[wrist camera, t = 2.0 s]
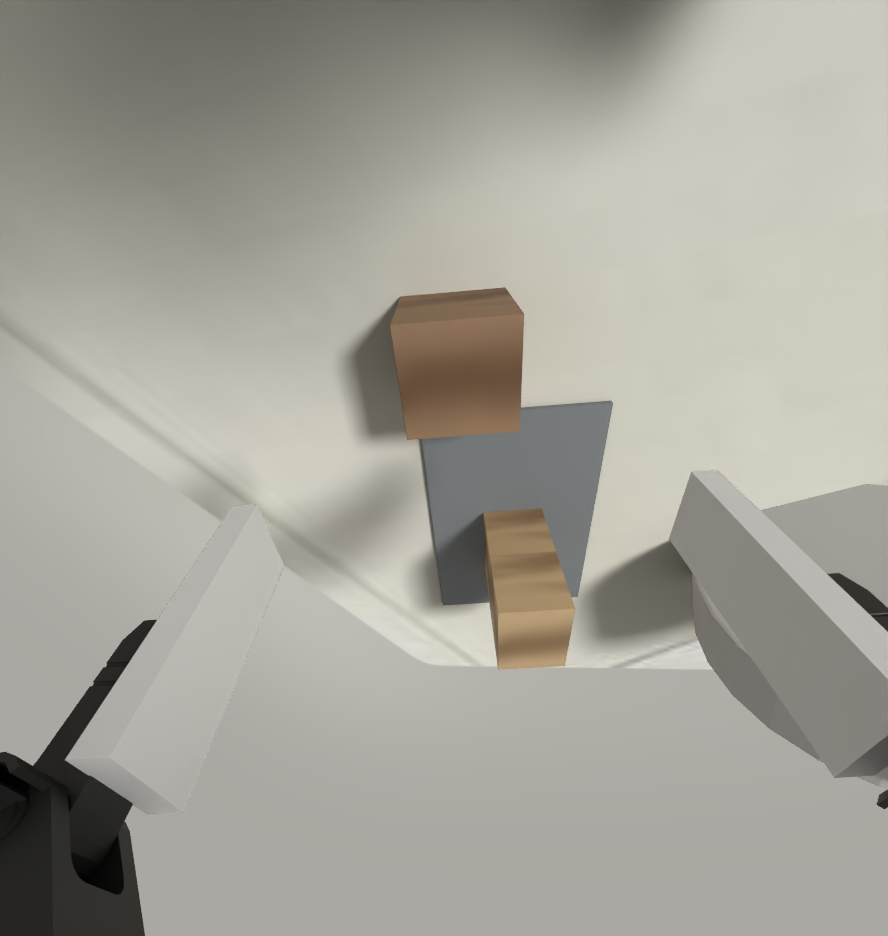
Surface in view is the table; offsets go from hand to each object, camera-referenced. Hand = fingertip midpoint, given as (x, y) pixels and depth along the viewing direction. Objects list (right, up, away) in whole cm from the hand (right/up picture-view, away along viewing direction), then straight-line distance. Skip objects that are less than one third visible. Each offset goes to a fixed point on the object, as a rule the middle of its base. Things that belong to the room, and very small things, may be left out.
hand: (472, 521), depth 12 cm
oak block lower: (+5, -5, +23) cm, 25 cm away
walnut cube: (0, +10, +14) cm, 17 cm away
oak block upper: (+5, -8, +19) cm, 21 cm away
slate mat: (+5, -3, +23) cm, 23 cm away
